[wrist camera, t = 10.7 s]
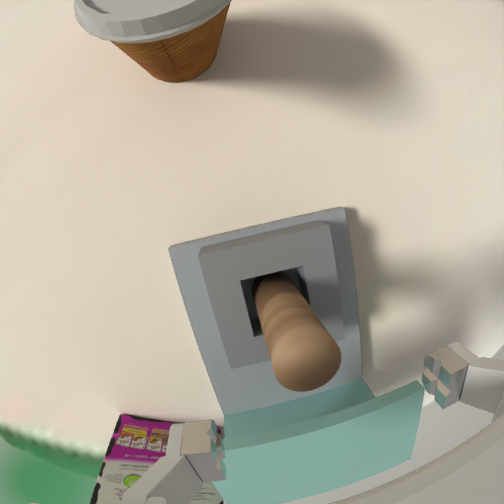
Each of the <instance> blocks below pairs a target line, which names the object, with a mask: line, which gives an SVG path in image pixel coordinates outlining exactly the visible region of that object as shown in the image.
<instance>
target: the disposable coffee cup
mask: <svg viewBox="0 0 504 504" xmlns="http://www.w3.org/2000/svg"><path fill="white" fill-rule="evenodd" d="M231 1H232V0H75V3H74V9H75V16H76V19H77V21H78V23H79V24H80V26H81V27H82V28H84V29H85V30H86V31H87V32H88V33H89V34H91V35H93V36H95V37H98V38H100V39H103V40H109V41H111V42H112V43H113V44H115V45H116V46H117V47H118V48H119V49H121V50H122V51H123V52H124V53H126V54H127V55H128V56H129V57H131V58H132V59H133V60H134V61H136V62H137V63H138V64H139V65H140V66H142V67H143V68H144V69H145V70H147V71H148V72H149V73H150V74H151V75H152V76H153V77H155V78H157V79H159V80H162V81H165V82H182V81H187V80H190V79H193V78H195V77H197V76H199V75H200V74H202V73H203V72H204V71H206V70H207V69H208V68H209V67H210V65H211V64H212V62H213V61H214V59H215V56H216V54H217V49H218V45H219V41H220V37H221V34H222V30H223V26H224V23H225V20H226V16H227V12H228V9H229V6H230V2H231Z"/></svg>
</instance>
